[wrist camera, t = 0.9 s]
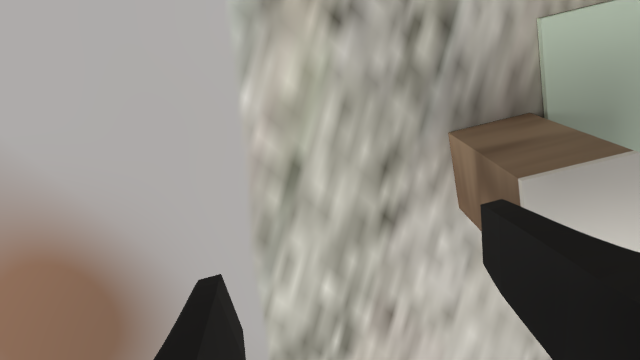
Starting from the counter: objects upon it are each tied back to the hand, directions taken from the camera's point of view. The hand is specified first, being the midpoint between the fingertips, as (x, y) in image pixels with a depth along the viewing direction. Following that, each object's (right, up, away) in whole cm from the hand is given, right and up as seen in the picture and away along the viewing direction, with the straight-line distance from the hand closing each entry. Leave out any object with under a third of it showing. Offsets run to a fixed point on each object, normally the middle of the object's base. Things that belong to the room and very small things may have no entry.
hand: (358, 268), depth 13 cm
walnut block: (+9, +3, +13) cm, 16 cm away
